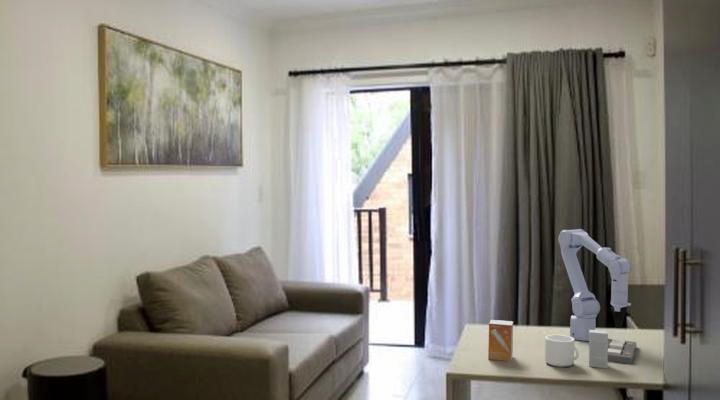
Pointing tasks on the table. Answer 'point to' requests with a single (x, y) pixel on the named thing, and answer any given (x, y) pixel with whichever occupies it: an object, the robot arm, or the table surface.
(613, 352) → the key outer
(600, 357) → the skincare box
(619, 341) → the key inner
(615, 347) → the key middle
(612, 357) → the keypad frame
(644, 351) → the table surface
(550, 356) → the mug
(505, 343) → the small box
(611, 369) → the table surface
